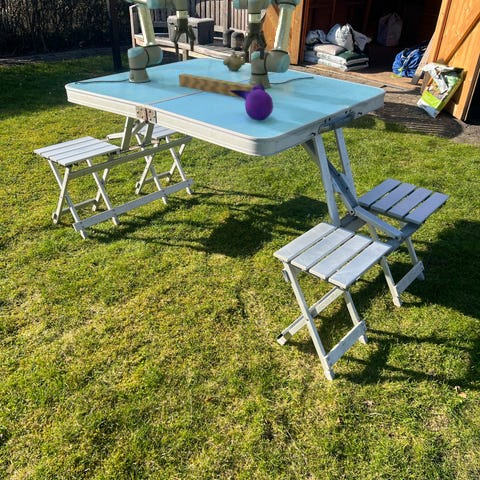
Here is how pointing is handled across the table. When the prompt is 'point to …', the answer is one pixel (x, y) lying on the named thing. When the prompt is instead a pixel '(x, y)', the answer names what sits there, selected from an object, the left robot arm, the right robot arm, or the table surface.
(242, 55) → the teapot
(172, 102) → the table surface
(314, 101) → the table surface
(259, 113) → the toy
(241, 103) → the table surface
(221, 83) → the block
